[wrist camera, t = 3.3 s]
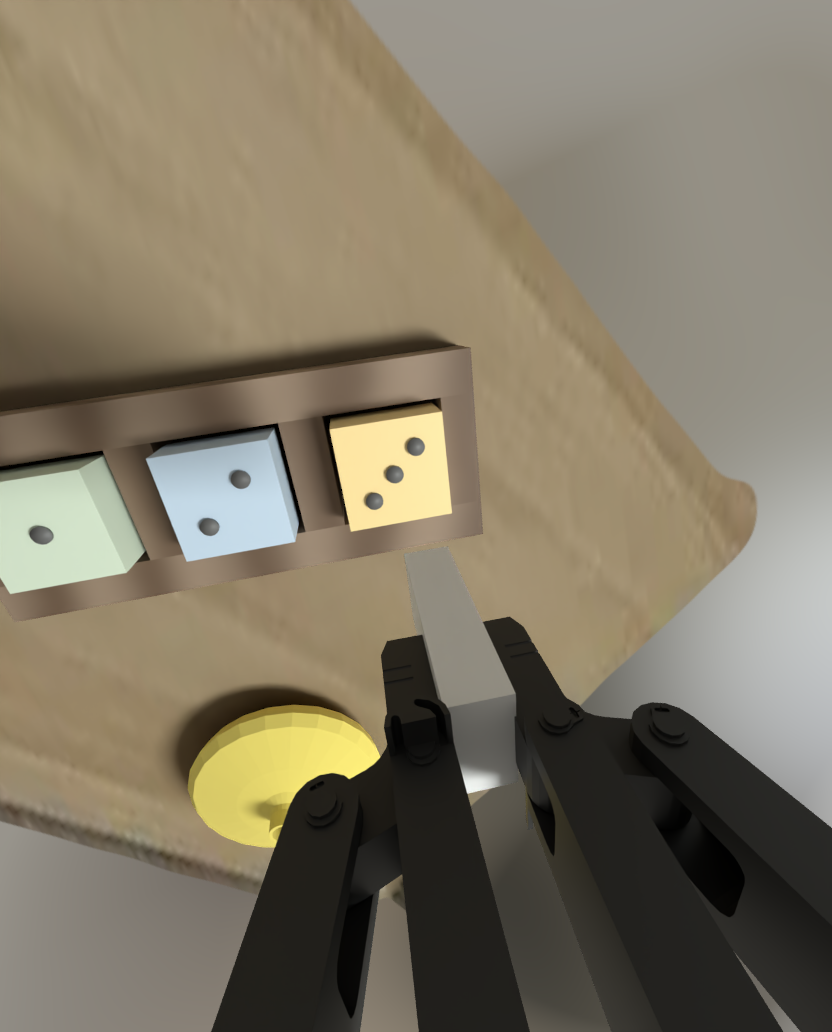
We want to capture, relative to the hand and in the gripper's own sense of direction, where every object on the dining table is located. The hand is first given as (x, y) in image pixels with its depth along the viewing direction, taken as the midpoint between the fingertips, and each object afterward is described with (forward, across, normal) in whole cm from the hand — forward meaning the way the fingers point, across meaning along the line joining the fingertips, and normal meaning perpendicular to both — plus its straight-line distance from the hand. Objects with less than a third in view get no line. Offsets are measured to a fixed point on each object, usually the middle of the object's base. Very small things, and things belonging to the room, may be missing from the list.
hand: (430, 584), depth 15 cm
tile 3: (+14, 0, 0) cm, 14 cm away
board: (+16, -10, 0) cm, 19 cm away
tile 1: (+14, -19, 0) cm, 24 cm away
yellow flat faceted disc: (+17, -12, -26) cm, 33 cm away
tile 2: (+14, -10, 0) cm, 17 cm away
